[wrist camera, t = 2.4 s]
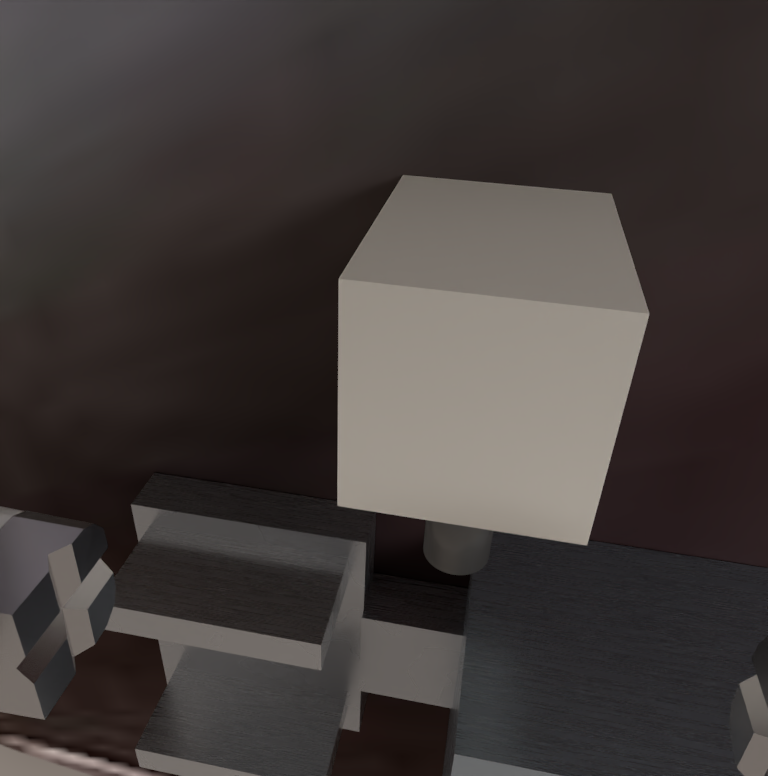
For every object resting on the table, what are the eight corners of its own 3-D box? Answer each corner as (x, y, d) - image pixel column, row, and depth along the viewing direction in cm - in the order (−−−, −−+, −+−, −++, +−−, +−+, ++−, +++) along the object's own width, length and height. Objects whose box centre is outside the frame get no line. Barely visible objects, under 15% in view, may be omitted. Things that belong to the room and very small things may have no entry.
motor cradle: (186, 658, 26) (86, 859, 20) (154, 472, 21) (11, 664, 16) (742, 765, 24) (811, 1031, 18) (847, 580, 19) (988, 861, 13)
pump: (390, 415, 19) (336, 582, 14) (402, 174, 15) (338, 278, 10) (558, 439, 18) (566, 621, 13) (611, 193, 15) (649, 313, 10)
